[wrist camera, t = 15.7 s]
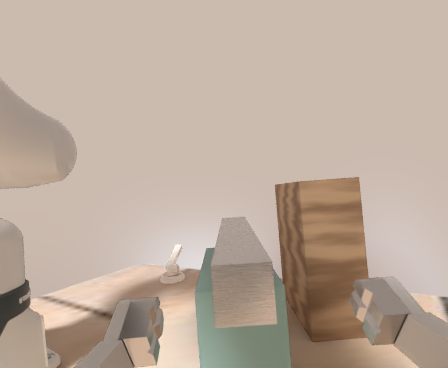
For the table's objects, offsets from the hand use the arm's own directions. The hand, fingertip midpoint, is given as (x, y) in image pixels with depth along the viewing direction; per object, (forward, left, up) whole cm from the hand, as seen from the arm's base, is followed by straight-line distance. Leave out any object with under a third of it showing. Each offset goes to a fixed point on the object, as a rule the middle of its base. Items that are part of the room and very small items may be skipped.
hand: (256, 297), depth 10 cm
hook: (-58, +33, -21) cm, 71 cm away
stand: (-15, +39, -21) cm, 47 cm away
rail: (-14, +14, -4) cm, 20 cm away
